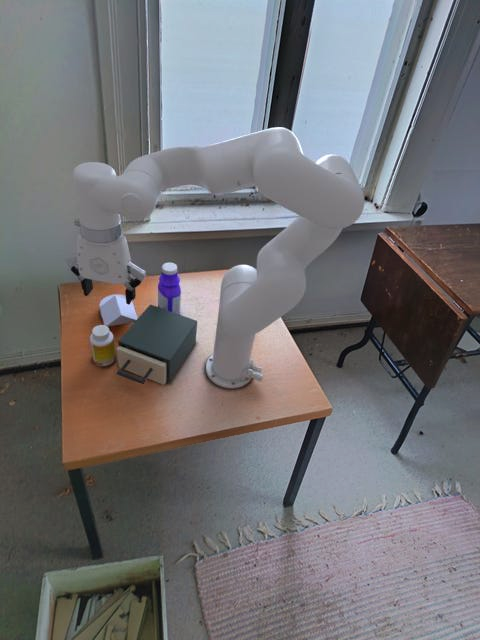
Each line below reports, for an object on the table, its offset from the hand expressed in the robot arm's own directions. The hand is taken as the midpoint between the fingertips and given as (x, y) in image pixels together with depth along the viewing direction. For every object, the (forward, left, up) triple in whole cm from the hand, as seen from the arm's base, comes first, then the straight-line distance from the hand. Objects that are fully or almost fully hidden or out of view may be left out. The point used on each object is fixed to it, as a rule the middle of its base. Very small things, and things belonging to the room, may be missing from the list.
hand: (109, 296), depth 91 cm
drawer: (-9, -2, -20) cm, 22 cm away
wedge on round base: (+8, -14, -21) cm, 27 cm away
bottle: (-4, -22, -21) cm, 31 cm away
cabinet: (-9, -7, -21) cm, 24 cm away
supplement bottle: (+3, +1, -21) cm, 21 cm away
